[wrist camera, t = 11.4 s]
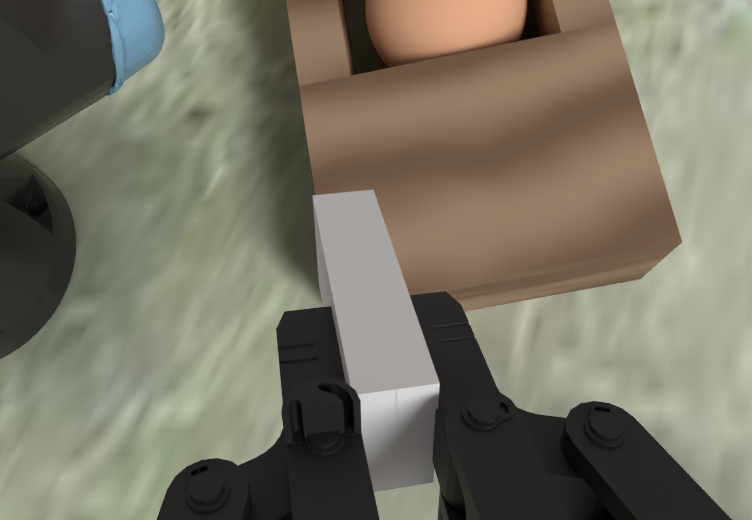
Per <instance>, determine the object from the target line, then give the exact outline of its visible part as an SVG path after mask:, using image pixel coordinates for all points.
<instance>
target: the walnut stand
mask: <svg viewBox="0 0 752 520" xmlns="http://www.w3.org/2000/svg"><path fill="white" fill-rule="evenodd" d="M286 4H287V11H288V18H289V24H290V31H291V38H292V44H293V51H294V57H295V64H296V71H297V77H298V84H299V91H300V97H301V104H302V110H303V117H304V124H305V130H306V137H307V144H308V150H309V157H310V163H311V170H312V177H313V183H314V190H315V195H322V194H332V193H343V192H353V191H363V190H374V193H375V196H376V199H377V202H378V204H379V207H380V210H381V213H382V216H383V219H384V222H385V225H386V228H387V231H388V234H389V237H390V240H391V242H392V245H393V248H394V251H395V254H396V257H397V260H398V263H399V266H400V269H401V272H402V275H403V277H404V280H405V283H406V286H407V289H408V292H409V295H416V294H425V293H433V292H442V291H446V292H447V293H448V294H450V295H451V296H452V297H453V298H454V299H455V300H456V301H457V302H459V303H460V304H461V305H462V308H463V310H464V311H468V310H474V309H479V308H485V307H490V306H496V305H501V304H507V303H512V302H517V301H523V300H528V299H534V298H539V297H545V296H550V295H556V294H561V293H567V292H572V291H577V290H583V289H588V288H594V287H599V286H605V285H610V284H616V283H621V282H627V281H632V280H638V279H641V278H642V277H643V276H644V275H645V274H646V273H648V272H649V271H650V270H651V269H652V268H653V267H654V266H656V265H657V264H658V263H659V262H660V261H661V260H662V259H663V258H665V257H666V256H667V255H668V254H669V253H670V252H671V251H673V250H674V249H675V248H676V247H677V246H678V245H679V244H681V243H682V240H681V237H680V234H679V230H678V227H677V224H676V220H675V217H674V214H673V211H672V207H671V204H670V201H669V197H668V194H667V191H666V187H665V184H664V181H663V177H662V174H661V171H660V168H659V164H658V161H657V158H656V154H655V151H654V148H653V144H652V141H651V138H650V134H649V131H648V128H647V125H646V121H645V118H644V115H643V111H642V108H641V105H640V101H639V98H638V95H637V91H636V88H635V85H634V82H633V78H632V75H631V72H630V68H629V65H628V62H627V58H626V55H625V52H624V48H623V45H622V42H621V38H620V35H619V32H618V29H617V25H616V22H615V19H614V15H613V12H612V9H611V5H610V2H609V0H528V2H527V16H526V21H525V25H524V30H525V34H526V38H527V40H522V41H518V42H513V43H508V44H503V45H498V46H493V47H488V48H483V49H479V50H474V51H469V52H464V53H459V54H454V55H449V56H444V57H440V58H435V59H430V60H425V61H420V62H415V63H410V64H405V65H401V66H396V67H391V68H386V69H381V70H376V71H371V72H366V73H362V74H357V75H356V72H355V66H354V61H353V55H352V49H351V44H350V38H349V32H348V27H347V21H346V15H345V10H344V4H343V0H286Z"/></svg>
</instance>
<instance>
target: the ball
mask: <svg viewBox="0 0 752 520" xmlns="http://www.w3.org/2000/svg"><path fill="white" fill-rule="evenodd" d="M527 2H528V0H366V21H367V26H368V31H369V34H370V37H371V40H372V42H373V45H374V47H375V49H376V51H377V52H378V54H379V56H380V57H381V59H382V60H383V61H384V62H385V64H386V65H387V66H388V67H389V68H391V67H396V66H401V65H405V64H410V63H415V62H420V61H425V60H430V59H435V58H440V57H444V56H449V55H454V54H459V53H464V52H469V51H474V50H479V49H483V48H488V47H493V46H498V45H503V44H508V43H513V42H518V41H519V40H520V37H521V35H522V32H523V29H524V25H525V21H526V16H527Z"/></svg>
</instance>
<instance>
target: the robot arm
mask: <svg viewBox="0 0 752 520" xmlns="http://www.w3.org/2000/svg"><path fill="white" fill-rule="evenodd" d="M164 36H165V31H164V23H163V20H162V16H161V13H160V10H159V7H158V5H157V2H156V0H0V359H1V358H3V357H5V356H7V355H8V354H10V353H12V352H13V351H15V350H16V349H18V348H19V347H21V346H22V345H23V344H25V343H26V342H27V341H28V340H30V339H31V338H32V337H33V336H34V335H35V334H36V333H37V332H38V331H39V330H40V329H41V328H42V327H43V326H44V325H45V323H46V322H47V321H48V320H49V318H50V317H51V316H52V314H53V313H54V311H55V310H56V308H57V307H58V305H59V303H60V301H61V299H62V298H63V296H64V293H65V291H66V289H67V287H68V284H69V281H70V278H71V275H72V271H73V266H74V261H75V253H76V235H75V227H74V222H73V218H72V214H71V211H70V209H69V206H68V204H67V202H66V200H65V198H64V196H63V195H62V193H61V192H60V190H59V189H58V188H57V187H56V185H55V184H54V183H53V182H52V181H51V180H50V179H49V178H48V177H46V176H45V175H44V174H43V173H41V172H40V171H38V170H37V169H35V168H34V167H32V166H31V165H29V164H28V163H26V162H25V161H23V160H21V159H20V158H18V157H16V156H14V155H12V153H13V152H15V151H17V150H18V149H20V148H22V147H23V146H25V145H27V144H28V143H30V142H31V141H33V140H35V139H36V138H38V137H40V136H41V135H43V134H44V133H46V132H48V131H49V130H51V129H53V128H54V127H56V126H57V125H59V124H61V123H62V122H64V121H66V120H67V119H69V118H70V117H72V116H74V115H75V114H77V113H79V112H80V111H82V110H84V109H85V108H87V107H88V106H90V105H92V104H93V103H95V102H97V101H98V100H100V99H101V98H103V97H105V96H106V95H111V94H113V93H115V92H117V91H118V90H119V89H120V87H121V86H122V84H123V82H124V81H125V80H127V79H128V78H129V77H131V76H132V75H134V74H135V73H136V72H138V71H139V70H141V69H142V68H143V67H145V66H146V65H148V64H149V63H150V62H152V61H153V60H154V59H155V58H156V57H157V56H158V54H159V53H160V51H161V49H162V46H163V43H164ZM313 209H314V223H315V237H316V251H317V265H318V279H319V287H320V293H321V299H322V304H323V307H320V308H311V309H303V310H294V311H286V312H284V314H283V316H282V318H281V320H280V322H279V324H278V326H277V328H276V332H277V343H278V354H279V365H280V376H281V388H282V399H283V405H282V411H281V412H282V420H283V430H282V433H281V435H280V437H279V438H278V440H277V441H276V443H275V444H274V445H273V446H272V447H271V448H270V449H269V450H267V451H266V452H265V453H263V454H261V455H260V456H258V457H256V458H254V459H252V460H250V461H247V462H245V463H243V464H241V465H239V466H237V465H236V464H235V463H233V462H232V461H228V460H223V459H219V458H215V459H206V460H201V461H199V462H196V463H194V464H192V465H189V466H187V467H186V468H185V469H184V470H182V471H181V472H180V473H179V474H178V475H177V476H175V478H174V479H173V481H172V483H171V484H170V486H169V488H168V489H167V492H166V495H165V498H164V500H163V503H162V506H161V509H160V512H159V514H158V517H157V520H379V515H378V511H377V506H376V501H375V496H374V491H381V490H387V489H394V488H400V487H406V486H413V485H419V484H425V483H432V482H433V476H434V468H435V471H436V475H437V478H438V481H439V485H440V495H439V508H438V520H732V519H731V518H730V517H729V516H728V515H727V514H726V513H725V512H724V511H723V510H722V509H721V508H720V507H719V506H718V505H717V504H716V503H715V502H714V501H713V500H712V499H711V497H710V496H709V495H708V494H707V493H706V492H705V491H704V490H703V489H702V488H701V487H700V486H699V485H698V484H697V483H696V482H695V481H694V480H693V479H692V478H691V477H690V476H689V474H688V473H687V472H686V471H685V470H684V469H683V468H682V467H681V466H680V465H679V464H678V463H677V462H676V461H675V460H674V459H673V458H672V457H671V456H670V455H669V454H668V453H667V451H666V450H665V449H664V448H663V447H662V446H661V445H660V444H659V443H658V442H657V441H656V440H655V439H654V438H653V437H652V436H651V435H650V434H649V433H648V432H647V431H646V430H645V428H644V427H643V426H642V425H641V424H640V423H639V422H638V421H637V420H636V419H635V418H634V417H633V416H631V415H630V414H629V413H627V412H626V411H625V410H624V409H622V408H619V407H617V406H614V405H612V404H610V403H604V402H596V401H592V402H587V403H581V404H579V405H578V406H576V407H575V408H573V409H571V411H570V412H569V414H568V416H567V418H562V417H554V416H546V415H539V414H534V413H530V412H527V411H524V410H522V409H519V408H517V407H516V406H515V405H514V403H513V402H512V401H511V400H510V399H509V398H507V397H506V396H504V395H503V394H501V393H500V392H499V390H498V388H497V387H496V384H495V382H494V380H493V377H492V375H491V373H490V370H489V368H488V366H487V363H486V361H485V359H484V356H483V354H482V352H481V349H480V347H479V345H478V342H477V340H476V339H475V337H474V333H473V331H472V329H471V326H470V325H469V322H468V319H467V317H466V315H465V312H464V310H463V308H462V305H461V304H460V303H459V302H457V301H456V300H455V299H454V298H453V297H452V296H451V295H450V294H448V293H447V292H446V291H442V292H433V293H425V294H416V295H409V292H408V289H407V286H406V283H405V280H404V277H403V275H402V272H401V269H400V266H399V263H398V260H397V257H396V254H395V251H394V248H393V245H392V242H391V240H390V237H389V234H388V231H387V228H386V225H385V222H384V219H383V216H382V213H381V210H380V207H379V204H378V202H377V199H376V196H375V193H374V190H363V191H353V192H343V193H332V194H322V195H313Z"/></svg>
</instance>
